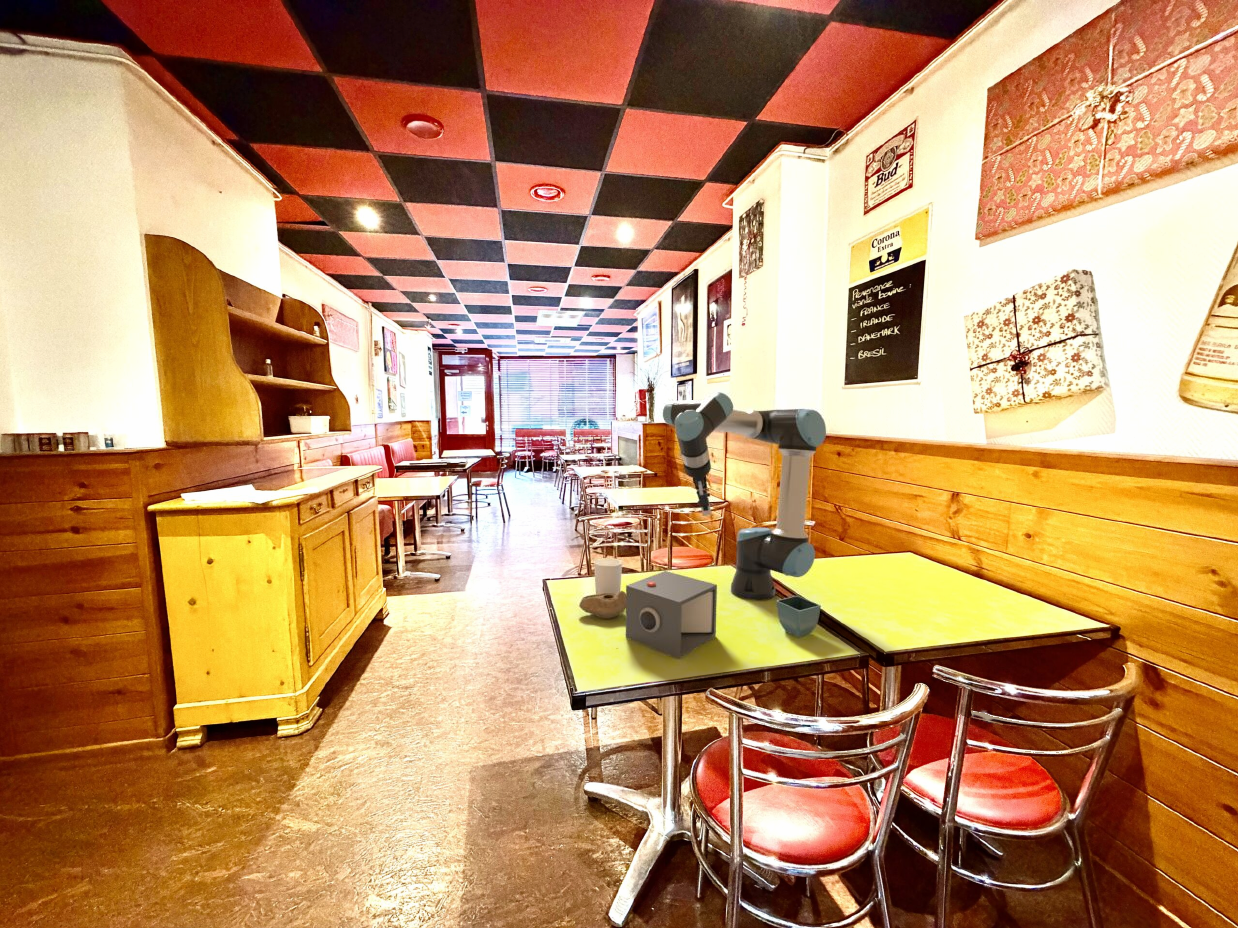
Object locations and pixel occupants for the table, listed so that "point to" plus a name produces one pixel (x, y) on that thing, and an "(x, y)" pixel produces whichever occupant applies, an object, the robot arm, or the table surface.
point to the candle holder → (608, 575)
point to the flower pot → (798, 615)
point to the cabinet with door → (665, 612)
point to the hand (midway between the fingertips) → (706, 513)
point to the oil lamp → (604, 604)
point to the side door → (698, 614)
